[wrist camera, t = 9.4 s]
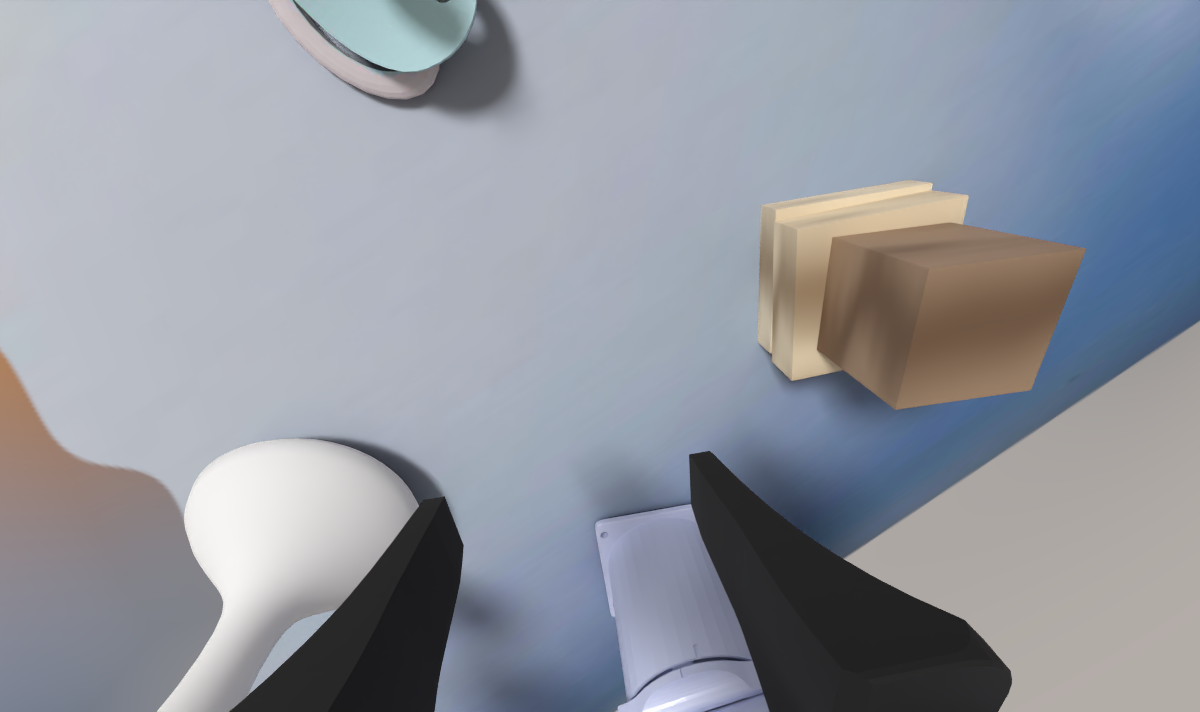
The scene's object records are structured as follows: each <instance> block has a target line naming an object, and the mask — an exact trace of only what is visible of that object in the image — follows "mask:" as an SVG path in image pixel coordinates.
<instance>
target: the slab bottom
mask: <svg viewBox="0 0 1200 712" xmlns="http://www.w3.org/2000/svg"><path fill="white" fill-rule="evenodd" d="M932 184H933V183H928V182H920V181H912V180H906V181H900V182H894V183H888V184H883V185H877V186H871V187H865V188H859V189H853V190H847V191H841V192H835V193H830V194H824V195H818V196H812V197H806V198H800V199H794V200H788V201H783V202H777V203H771V204H765V205H761V233H760V274H759V315H758V342H759V343H760V344H761V345H762V346H763V347H764V348H765V349H766V350H767V351H768V352H769V353H770V354H771V353H772V321H773V246H774V221H777V220H782V219H787V218H792V217H797V216H802V215H807V214H812V213H817V212H822V211H827V210H832V209H837V208H842V207H847V206H852V205H857V204H862V203H868V202H873V201H878V200H883V199H888V198H893V197H898V196H903V195H908V194H913V193H918V192H923V191H928V190H931V189H932Z"/></svg>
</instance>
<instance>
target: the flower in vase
mask: <svg viewBox="0 0 1200 712" xmlns="http://www.w3.org/2000/svg"><path fill="white" fill-rule="evenodd" d="M418 507H419V505H418V503H417V501H416V499H415V497H414V496H413V494H412V492H411V490H410V489H409V488H408V486H407V485H406V484H405V483H404V481H403V480H402V479H401V478H400V477H399V476H398V475H397V474H396V473H395V472H393V471H392V470H391V469H390V468H388V467H387V466H386V465H384V464H383V463H381V462H380V461H378V460H376V459H375V458H373V457H371V456H369V455H367V454H365V453H363V452H361V451H359V450H356V449H353V448H350V447H348V446H345V445H341V444H337V443H333V442H329V441H323V440H317V439H306V438H287V439H277V440H269V441H263V442H257V443H253V444H249V445H245V446H242V447H239V448H237V449H234V450H231V451H229V452H227V453H225V454H224V455H222V456H220V457H218V458H217V459H215V460H214V461H213V462H212V463H210V464H209V465H208V466H207V467H206V468H205V469H204V470H203V471H202V472H201V473H200V474H199V476H198V478H197V479H196V481H195V483H194V484H193V487H192V490H191V493H190V495H189V498H188V501H187V504H186V507H185V515H184V522H185V529H186V532H187V536H188V539H189V542H190V545H191V548H192V551H193V554H194V555H195V557H196V559H197V561H198V563H199V564H200V566H201V567H202V569H203V570H204V572H205V573H206V575H207V576H208V577H209V579H210V580H211V581H212V583H213V584H214V585H215V586H216V588H217V589H218V591H219V592H220V594H221V596H222V599H223V603H224V605H223V612H222V616H221V618H220V620H219V622H218V624H217V627H216V629H215V631H214V633H213V635H212V636H211V638H210V639H209V641H208V643H207V644H206V646H205V648H204V649H203V651H202V652H201V654H200V656H199V657H198V659H197V660H196V661H195V663H194V664H193V665H192V667H191V668H190V670H189V671H188V672H187V674H186V675H185V677H184V678H183V680H182V681H181V682H180V684H179V685H178V686H177V688H176V689H175V690H174V691H173V693H172V694H171V695H170V696H169V697H168V699H167V700H166V701H165V702H164V704H163V705H162V706H161V708H160V709H159V710H158V711H157V712H229V711H230V710H232V709H233V708H234V707H235V706H236V705H238V704H239V703H240V702H241V701H242V700H243V699H245V698H246V697H247V695H248V693H249V691H250V689H251V687H252V685H253V683H254V681H255V679H256V677H257V675H258V673H259V671H260V669H261V667H262V666H263V664H264V662H265V661H266V659H267V657H268V655H269V654H270V652H271V650H272V649H273V647H274V646H275V644H276V643H277V642H278V640H279V639H280V638H281V636H282V635H283V634H284V632H285V631H286V630H287V629H288V628H289V627H291V626H292V625H293V624H294V623H295V622H297V621H299V620H301V619H303V618H306V617H309V616H312V615H316V614H320V613H324V612H328V611H332V610H336V609H338V608H339V607H340V606H341V604H342V603H343V602H344V601H345V600H346V599H347V598H348V596H349V595H350V594H351V593H352V592H353V590H354V589H355V588H356V587H357V586H358V584H359V583H360V582H361V581H362V580H363V578H364V577H365V576H366V575H367V574H368V572H369V571H370V570H371V569H372V567H373V566H374V565H375V564H376V562H377V561H378V560H379V558H380V557H381V556H382V555H383V553H384V552H385V551H386V549H387V548H388V547H389V546H390V544H391V543H392V542H393V540H394V539H395V538H396V536H397V535H398V534H399V532H400V531H401V529H402V528H403V527H404V525H405V524H406V523H407V521H408V520H409V519H410V517H411V516H412V515H413V513H414V512H415V511H416V509H417V508H418Z"/></svg>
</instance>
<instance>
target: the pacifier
mask: <svg viewBox="0 0 1200 712" xmlns="http://www.w3.org/2000/svg"><path fill="white" fill-rule="evenodd" d="M268 1H269V2H270V4H271V6H272V8H273V9H274V11H275V13H276V14H277V16H278V18H279V19H280V20H281V22H282V23H283V24H284V25H285V27H286V28H287V29H288V31H289V32H290V33H291V34H292V36H293V37H294V38H295V39H296V41H297V42H298V43H299V44H300V45H301V46H302V47H303V48H304V49H305V50H306V51H307V52H308V53H309V54H311V55H312V56H313V57H314V58H315V59H316V60H317V61H318V62H319V63H320V64H321V65H323V66H324V67H325V68H327V69H328V70H329V71H331V72H332V73H334V74H335V75H336V76H338V77H339V78H340V79H342V80H343V81H345V82H347V83H349V84H351V85H353V86H355V87H357V88H359V89H361V90H363V91H364V92H366V93H370V94H373V95H376V96H380V97H383V98H387V99H405V100H407V99H410V98H413V97H416V96H419V95H422V94H423V93H425V92H426V91H427V90H428V89H429V88H430V87H431V86H432V85H433V84H434V81H435V79H436V76H437V73H438V71H439V64H441V63H442V62H444V61H445V60H447V59H448V58H450V57H451V56H452V55H453V54H454V53H455V52H456V51H457V50H458V49H459V48H460V47H461V45H462V44H463V42H464V41H465V40H466V38H467V36H468V34H469V32H470V30H471V28H472V26H473V23H474V19H475V16H476V10H477V0H449V1H448V2H446V3H441V2H438V1H437V0H268ZM305 11H306V12H307V13H308V14H309V15H310V16H311V17H312V18H313V19H314V20H315V21H316V22H317V23H318V24H319V25H320V26H321V27H322V28H323V29H325V30H326V31H327V32H328V33H329V34H330V35H332V36H333V37H334V38H335V39H337V40H338V41H339V42H341V43H342V44H343V45H345V46H346V47H347V48H349V49H350V50H351V51H353V52H355V53H356V54H358V55H360V56H362V57H363V58H365V59H367V60H369V61H370V62H373V63H375V64H378V65H380V66H383V67H385V68H388V69H393V70H397V71H394V72H392V71H379V70H376V69H373V68H370V67H368V66H366V65H364V64H362V63H360V62H359V61H357V60H355V59H353V58H351V57H350V56H349V55H347V54H346V53H345V52H343V51H342V50H341V49H340V48H338V47H337V46H336V45H334V44H333V43H332V42H331V41H330V40H329V39H328V38H327V37H326V36H325V35H324V34H323V33H322V32H321V31H320V30H319V29H318V27H317V26H316V25H315V24H314V22H313V21H312V20H311V18H310V17H309V16H308V15H307V13H306V12H305Z"/></svg>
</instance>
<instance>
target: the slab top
mask: <svg viewBox="0 0 1200 712" xmlns="http://www.w3.org/2000/svg"><path fill="white" fill-rule="evenodd" d="M968 197H969V195H962V194H954V193H947V192H939V191H932V190H928V191H923V192H918V193H913V194H908V195H903V196H898V197H893V198H888V199H883V200H878V201H873V202H868V203H862V204H857V205H852V206H847V207H842V208H837V209H832V210H827V211H822V212H817V213H812V214H807V215H802V216H797V217H792V218H787V219H782V220H777V221H774V246H773V321H772V362H773V363H774V364H775V365H776V366H777V367H778V368H779V369H780V370H781V371H782V372H783V373H784V374H785V375H786V376H787V377H788V378H789V379H790V380H791V381H794V380H799V379H804V378H808V377H813V376H818V375H823V374H828V373H832V372H837V371H842V370H843V369H842V368H840V367H839V366H838V365H836V364H835V363H834V362H832V361H831V360H830V359H829V358H827V357H826V356H825V355H823V354H822V353H821V352H819V351H818V350H817V344H818V337H819V329H820V322H821V314H822V307H823V300H824V292H825V285H826V278H827V271H828V264H829V257H830V250H831V243H832V237H838V236H846V235H854V234H862V233H870V232H878V231H886V230H894V229H901V228H909V227H917V226H926V225H934V224H942V223H950V222H951V223H957V224H962V225H963V221H964V216H965V211H966V206H967V201H968Z"/></svg>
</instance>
